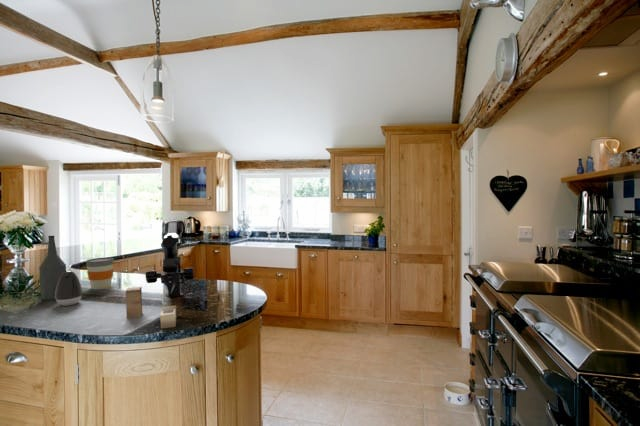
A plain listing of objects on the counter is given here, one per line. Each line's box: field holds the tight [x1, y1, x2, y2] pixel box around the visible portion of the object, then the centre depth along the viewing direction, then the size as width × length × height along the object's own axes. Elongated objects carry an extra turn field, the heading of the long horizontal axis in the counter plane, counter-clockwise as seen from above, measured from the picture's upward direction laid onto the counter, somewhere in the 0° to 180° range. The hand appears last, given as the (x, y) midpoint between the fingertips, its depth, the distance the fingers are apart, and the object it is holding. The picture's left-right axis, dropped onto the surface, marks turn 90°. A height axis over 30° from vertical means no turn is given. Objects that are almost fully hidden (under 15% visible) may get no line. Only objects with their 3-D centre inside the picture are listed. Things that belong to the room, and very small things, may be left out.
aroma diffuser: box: [54, 270, 84, 307], centre depth 161 cm, size 10×10×15 cm
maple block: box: [159, 304, 177, 329], centre depth 136 cm, size 5×5×11 cm
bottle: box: [38, 235, 67, 301], centre depth 172 cm, size 10×10×30 cm
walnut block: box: [125, 286, 143, 319], centre depth 145 cm, size 5×5×11 cm
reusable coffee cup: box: [86, 257, 115, 290], centre depth 190 cm, size 13×13×15 cm
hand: (170, 292), depth 147 cm, fingers closed
